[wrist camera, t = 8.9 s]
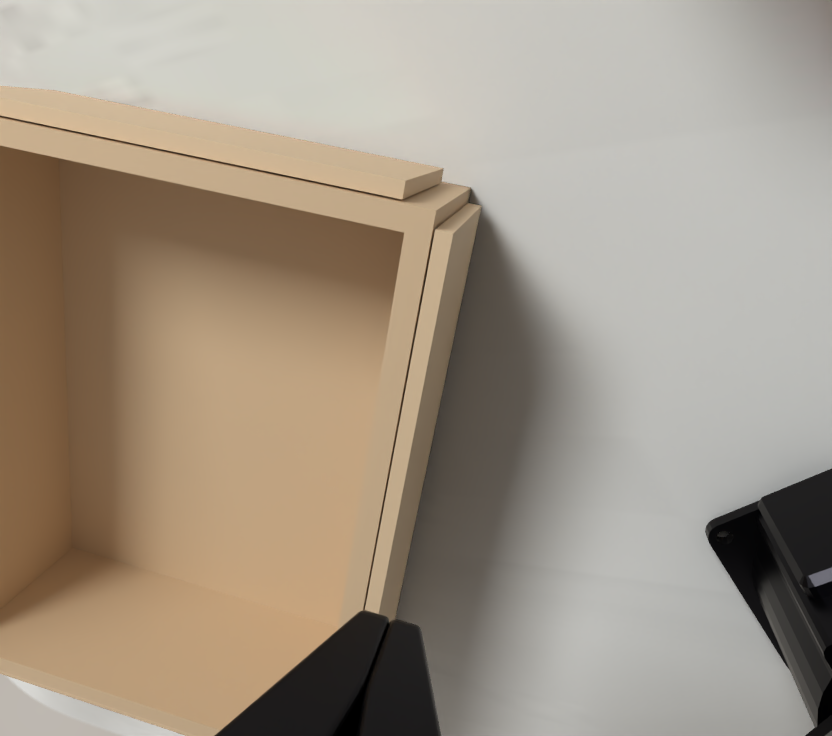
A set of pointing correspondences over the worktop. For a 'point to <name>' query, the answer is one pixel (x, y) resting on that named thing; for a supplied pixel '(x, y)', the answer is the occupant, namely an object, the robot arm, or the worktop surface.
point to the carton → (208, 397)
